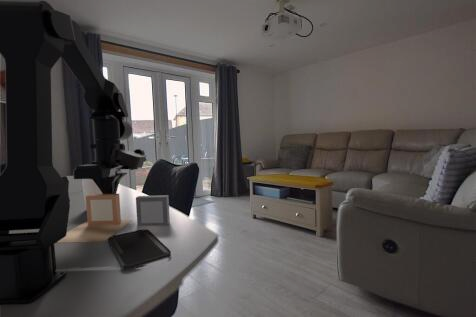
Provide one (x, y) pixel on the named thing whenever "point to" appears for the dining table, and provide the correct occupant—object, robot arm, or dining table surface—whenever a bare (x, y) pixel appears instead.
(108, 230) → the cork mat
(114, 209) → the terracotta tile
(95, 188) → the white cup
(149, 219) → the gray box
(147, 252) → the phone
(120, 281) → the dining table surface
